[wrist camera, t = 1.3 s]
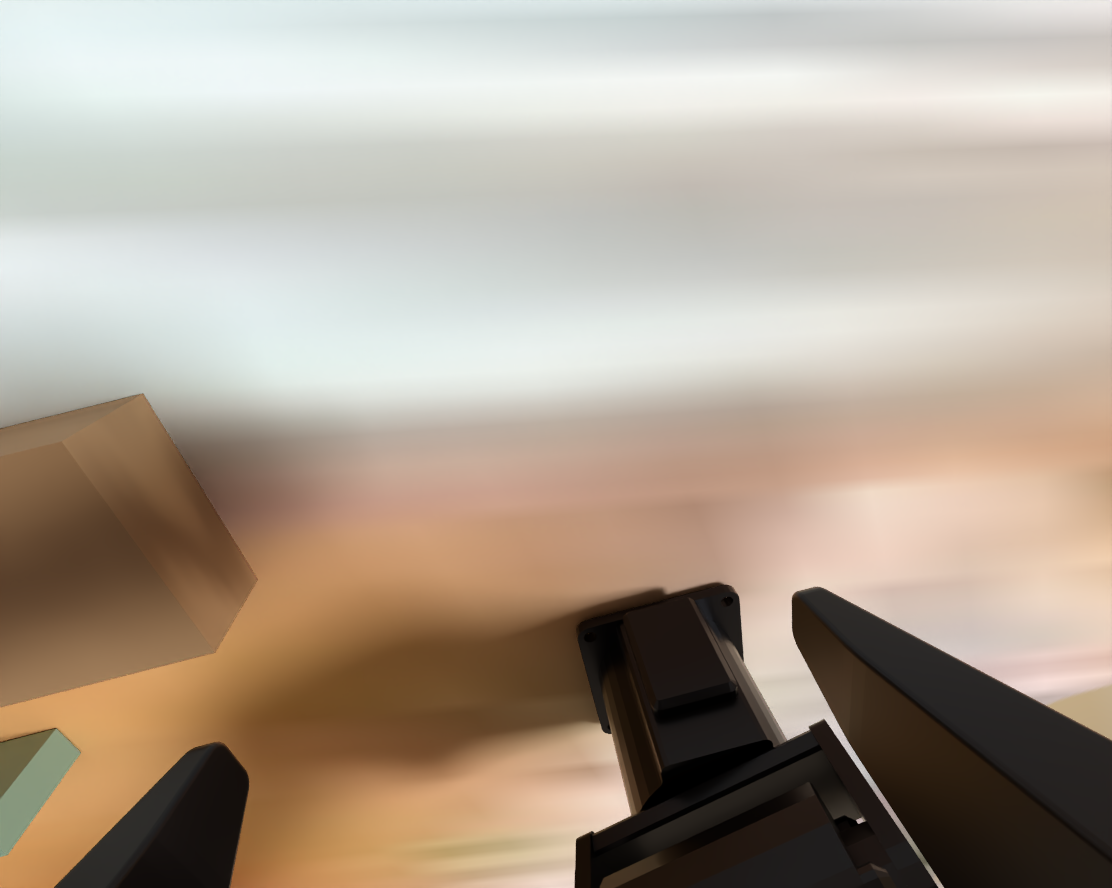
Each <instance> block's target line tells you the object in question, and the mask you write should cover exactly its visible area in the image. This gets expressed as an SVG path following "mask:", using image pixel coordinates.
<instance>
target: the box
mask: <svg viewBox="0 0 1112 888" xmlns="http://www.w3.org/2000/svg"><path fill="white" fill-rule="evenodd" d="M80 753H81V752H80V751H79V750H78V749H77V748H76V747H75V746H74V745H73V744H72V743H71V742H70V741H69V740H68V739H67V738H66V737H65V736H64V735H63V734H62V733H60V732H59V731H58V730H57V729H52V730H48V731H44V732H41V733H37V734H33V735H29V736H25V737H21V738H17V739H13V740H10V741H6V742H2V743H0V857H2V856H6V855H8V854H9V852H10V851H11V850H12V848H13V847H14V845H15V844H16V843H17V841H18V840H19V838H20V837H21V836H22V834H23V833H24V831H25V830H26V829H27V827H28V826H29V824H30V823H31V822H32V820H33V819H34V817H35V816H36V815H37V813H38V812H39V811H40V809H41V808H42V806H43V805H44V804H45V802H46V801H47V799H48V798H49V797H50V795H51V794H52V792H53V791H54V790H55V788H56V787H57V785H58V784H59V783H60V781H61V780H62V778H63V777H64V776H65V774H66V773H67V771H68V770H69V769H70V767H71V766H72V764H73V763H74V762H75V760H76V759H77V758H78V756H79V755H80Z"/></svg>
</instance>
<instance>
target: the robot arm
mask: <svg viewBox="0 0 1112 888" xmlns="http://www.w3.org/2000/svg"><path fill="white" fill-rule="evenodd" d="M725 597H727V598H725ZM723 598H725V599H723ZM722 599H723V600H722ZM792 631H793V636H794V639H795V642H796V644H797V646H798V648H799V650H800V652H801V654H802V656H803V658H804V659H805V661H806V663H807V665H808V667H809V669H810V671H811V673H812V675H813V676H814V678H815V680H816V682H817V684H818V686H819V688H820V690H821V692H822V694H823V695H824V697H825V699H826V701H827V703H828V705H829V707H830V709H831V711H832V712H833V714H834V716H835V718H836V720H837V722H838V724H839V726H840V727H841V729H842V731H843V733H844V735H845V736H846V738H847V740H848V742H849V743H850V745H851V747H852V748H853V750H854V751H855V753H856V755H857V756H858V758H859V759H860V761H861V762H862V764H863V765H864V767H865V768H866V770H867V771H868V773H869V774H870V776H871V777H872V779H873V781H874V782H875V784H876V785H877V787H878V788H879V790H880V791H881V793H882V794H883V796H884V797H885V799H886V800H887V802H888V803H889V805H890V806H891V808H892V809H893V811H894V812H895V814H896V815H897V817H898V818H899V820H900V821H901V823H902V824H903V826H904V827H905V829H906V830H907V832H908V834H909V835H910V837H911V838H912V840H913V841H914V843H915V844H916V846H917V847H918V849H919V850H920V852H921V853H922V855H923V856H924V858H925V859H926V861H927V862H928V864H929V865H930V867H931V868H932V870H933V871H934V873H935V874H936V876H937V877H938V879H939V880H940V882H941V883H942V885H943V887H944V888H1112V740H1110V739H1108V738H1106V737H1105V736H1103V735H1101V734H1099V733H1097V732H1095V731H1093V730H1091V729H1089V728H1088V727H1085V726H1084V725H1082V724H1080V723H1078V722H1076V721H1074V720H1072V719H1070V718H1069V717H1066V716H1065V715H1063V714H1061V713H1059V712H1057V711H1055V710H1053V709H1051V708H1050V707H1048V706H1046V705H1044V704H1042V703H1040V702H1038V701H1036V700H1034V699H1033V698H1031V697H1029V696H1027V695H1025V694H1023V693H1021V692H1019V691H1017V690H1016V689H1014V688H1012V687H1010V686H1008V685H1006V684H1004V683H1002V682H1000V681H998V680H997V679H995V678H993V677H991V676H989V675H987V674H985V673H983V672H981V671H980V670H978V669H976V668H974V667H972V666H970V665H968V664H966V663H964V662H962V661H961V660H959V659H957V658H955V657H953V656H951V655H949V654H947V653H945V652H944V651H942V650H940V649H938V648H936V647H934V646H932V645H930V644H928V643H926V642H925V641H923V640H921V639H919V638H917V637H915V636H913V635H911V634H909V633H908V632H906V631H904V630H902V629H900V628H898V627H896V626H894V625H892V624H891V623H889V622H887V621H885V620H883V619H881V618H879V617H877V616H875V615H873V614H872V613H870V612H868V611H866V610H864V609H862V608H860V607H858V606H856V605H855V604H853V603H851V602H849V601H847V600H845V599H843V598H841V597H839V596H837V595H836V594H834V593H832V592H830V591H828V590H826V589H824V588H821V587H813V588H809V589H805V590H801V591H797V592H795V593H794V594H793V596H792ZM590 632H593V633H591V634H587V633H590ZM576 634H577V639H578V643H579V647H580V650H581V654H582V658H583V661H584V665H585V669H586V672H587V676H588V680H589V683H590V687H591V691H592V694H593V698H594V702H595V705H596V709H597V713H598V716H599V720H600V724H601V727H602V730H603V731H604V732H605V733H608V734H612V737H613V741H614V745H615V749H616V753H617V757H618V762H619V766H620V770H621V774H622V778H623V782H624V787H625V791H626V795H627V799H628V803H629V807H630V812H631V816H630V817H628V818H626V819H624V820H622V821H620V822H617V823H615V824H613V825H611V826H609V827H607V828H605V829H603V830H601V831H599V832H597V833H594V832H592V831H591V832H589V833H587V834H585V835H583V836H581V837H579V838H577V839H576V868H575V888H938V886H937V885H936V883H935V882H934V880H933V879H932V877H931V876H930V874H929V873H928V871H927V870H926V868H925V867H924V865H923V864H922V862H921V861H920V859H919V858H918V856H917V855H916V853H915V852H914V850H913V849H912V847H911V846H910V844H909V843H908V841H907V840H906V838H905V837H904V835H903V834H902V832H901V831H900V829H899V828H898V826H897V825H896V824H895V822H894V821H893V819H892V818H891V816H890V815H889V813H888V812H887V810H886V809H885V807H884V806H883V804H882V803H881V801H880V800H879V799H878V797H877V796H876V794H875V793H874V791H873V790H872V788H871V787H870V785H869V784H868V782H867V781H866V779H865V778H864V777H863V775H862V774H861V772H860V771H859V769H858V768H857V766H856V765H855V763H854V762H853V760H852V759H851V757H850V756H849V754H848V753H847V752H846V750H845V749H844V747H843V746H842V744H841V743H840V741H839V740H838V738H837V737H836V735H835V734H834V732H833V731H832V729H831V728H830V727H829V725H828V724H827V722H826V721H825V719H823V720H821V721H819V722H817V723H815V724H813V725H811V726H809V729H810V730H809V731H807V732H804V733H802V734H800V735H798V736H796V737H794V738H792V739H790V740H788V741H787V739H786V737H785V736H784V734H783V732H782V730H781V729H780V727H779V725H778V723H777V721H776V720H775V718H774V716H773V714H772V712H771V711H770V709H769V707H768V705H767V703H766V702H765V700H764V698H763V696H762V694H761V693H760V691H759V689H758V687H757V686H756V684H755V682H754V680H753V678H752V677H751V675H750V673H749V671H748V669H747V668H746V666H745V664H744V658H743V644H742V630H741V616H740V602H739V596H738V594H737V593H736V591H735V590H734V588H733V587H732V586H729V585H721V586H717V587H713V588H709V589H706V590H702V591H698V592H694V593H690V594H686V595H682V596H679V597H675V598H671V599H667V600H663V601H659V602H656V603H652V604H648V605H644V606H640V607H636V608H632V609H629V610H625V611H621V612H617V613H613V614H609V615H605V616H602V617H598V618H594V619H590V620H586V621H584V622H582V623H580V624H579V625H578V627H577V629H576ZM248 791H249V778H248V774H247V772H246V770H245V769H244V767H243V766H242V765H241V764H240V762H239V761H238V760H237V759H236V757H235V756H234V755H233V754H232V752H231V751H230V750H229V749H228V747H227V746H226V745H225V744H223V743H221V742H214V743H210V744H206V745H202V746H199V747H195V748H193V749H191V750H190V751H188V752H187V753H186V754H185V755H184V756H183V757H182V758H181V759H180V760H179V761H178V762H177V763H176V764H175V765H174V766H173V767H172V768H171V769H170V770H169V771H168V772H167V773H166V774H165V775H164V776H163V777H162V778H161V779H160V780H159V781H158V782H157V783H156V784H155V785H154V786H153V787H152V788H151V789H150V790H149V791H148V792H147V793H146V794H145V795H144V796H143V797H142V798H141V799H140V800H139V802H138V803H137V804H136V805H135V806H134V807H133V808H132V809H131V810H130V811H129V812H128V813H127V814H126V815H125V816H124V817H123V818H122V819H121V820H120V821H119V822H118V823H117V824H116V825H115V826H114V827H113V828H112V829H111V830H110V831H109V832H108V833H107V834H106V835H105V836H104V837H103V838H102V839H101V840H100V841H99V842H98V843H97V844H96V845H95V846H94V847H93V848H92V849H91V850H90V851H89V852H88V853H87V854H86V855H85V857H84V858H83V859H82V860H81V861H80V862H79V863H78V864H77V865H76V866H75V867H74V868H73V869H72V870H71V871H70V872H69V873H68V874H67V875H66V876H65V877H64V878H63V879H62V880H61V881H60V882H59V883H58V884H57V885H56V886H55V887H54V888H230V885H231V880H232V875H233V870H234V864H235V859H236V854H237V849H238V844H239V838H240V833H241V828H242V823H243V817H244V812H245V807H246V802H247V796H248ZM859 818H862V820H863V821H864V822H862V823H860V824H858V823H857V821H856V820H857V819H859Z"/></svg>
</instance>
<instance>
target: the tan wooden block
mask: <svg viewBox="0 0 1112 888" xmlns="http://www.w3.org/2000/svg"><path fill="white" fill-rule="evenodd" d="M257 580H258V578H257V577H256V575H255V574H254V572H253V570H252V569H251V567H250V566H249V564H248V562H247V561H246V559H245V557H244V556H243V554H242V553H241V551H240V549H239V548H238V546H237V545H236V543H235V541H234V540H233V538H232V536H231V535H230V533H229V532H228V530H227V528H226V527H225V525H224V524H223V522H222V520H221V519H220V517H219V515H218V514H217V512H216V511H215V509H214V507H213V506H212V504H211V503H210V501H209V499H208V498H207V496H206V494H205V493H204V491H203V490H202V488H201V486H200V485H199V483H198V482H197V480H196V478H195V477H194V475H193V473H192V472H191V470H190V469H189V467H188V465H187V464H186V462H185V461H184V459H183V457H182V456H181V454H180V452H179V451H178V449H177V448H176V446H175V444H174V443H173V441H172V440H171V438H170V436H169V435H168V433H167V431H166V430H165V428H164V427H163V425H162V423H161V422H160V420H159V419H158V417H157V415H156V414H155V412H154V410H153V409H152V407H151V406H150V404H149V402H148V401H147V399H146V398H145V396H144V394H139V395H135V396H131V397H127V398H123V399H119V400H115V401H111V402H107V403H103V404H99V405H94V406H90V407H86V408H82V409H78V410H74V411H70V412H66V413H62V414H58V415H54V416H50V417H46V418H42V419H38V420H33V421H29V422H25V423H21V424H17V425H13V426H9V427H5V428H1V429H0V707H4V706H8V705H12V704H16V703H20V702H24V701H28V700H32V699H36V698H40V697H44V696H47V695H51V694H55V693H59V692H63V691H67V690H71V689H75V688H79V687H83V686H87V685H90V684H94V683H98V682H102V681H106V680H110V679H114V678H118V677H122V676H126V675H130V674H134V673H137V672H141V671H145V670H149V669H153V668H157V667H161V666H165V665H169V664H173V663H177V662H181V661H184V660H188V659H192V658H196V657H200V656H204V655H208V654H212V653H215V652H216V650H217V649H218V647H219V645H220V643H221V642H222V640H223V638H224V637H225V635H226V633H227V631H228V630H229V628H230V626H231V625H232V623H233V621H234V619H235V618H236V616H237V614H238V613H239V611H240V609H241V608H242V606H243V604H244V602H245V601H246V599H247V597H248V596H249V594H250V592H251V590H252V589H253V587H254V585H255V584H256V582H257Z"/></svg>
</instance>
